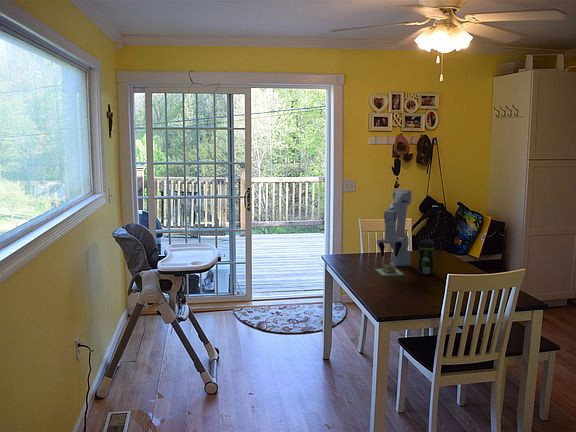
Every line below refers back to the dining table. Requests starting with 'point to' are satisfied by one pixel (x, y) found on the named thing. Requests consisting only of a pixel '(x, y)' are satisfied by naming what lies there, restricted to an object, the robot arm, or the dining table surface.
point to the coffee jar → (426, 257)
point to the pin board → (383, 273)
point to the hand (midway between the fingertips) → (389, 256)
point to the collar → (389, 268)
